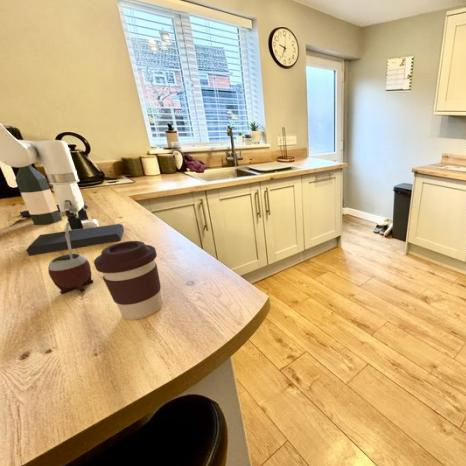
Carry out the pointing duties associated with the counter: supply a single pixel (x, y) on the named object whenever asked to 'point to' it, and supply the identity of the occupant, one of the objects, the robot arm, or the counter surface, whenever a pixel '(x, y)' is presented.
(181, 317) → the counter surface
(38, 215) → the wine bottle
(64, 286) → the mate gourd
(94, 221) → the soap bar
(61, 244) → the dark grey flat bar
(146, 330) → the counter surface
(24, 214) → the door handle
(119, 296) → the coffee cup
